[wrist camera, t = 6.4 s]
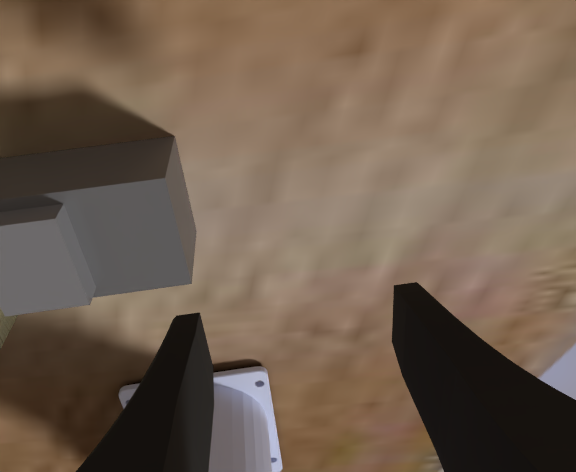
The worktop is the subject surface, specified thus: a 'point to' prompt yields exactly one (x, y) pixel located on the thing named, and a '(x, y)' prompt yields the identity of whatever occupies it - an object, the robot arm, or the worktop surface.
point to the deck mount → (5, 326)
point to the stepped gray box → (93, 224)
